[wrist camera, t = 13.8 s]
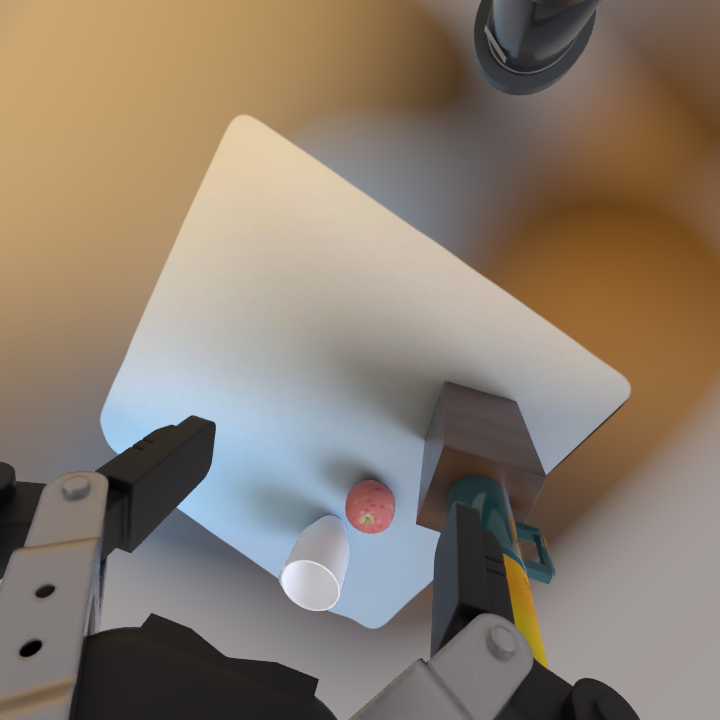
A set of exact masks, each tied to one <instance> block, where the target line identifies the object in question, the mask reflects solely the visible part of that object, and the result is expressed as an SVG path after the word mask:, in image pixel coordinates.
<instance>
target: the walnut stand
mask: <svg viewBox="0 0 720 720" xmlns="http://www.w3.org/2000/svg"><path fill="white" fill-rule="evenodd" d="M469 476H484V477H488V478H491V479H493V480H495V481H496V482H498V483H499V484H501V485H502V486H503V487H504V488H505V490H506V491H507V493H508V495H509V498H510V502H511V506H512V510H513V515H514V519H515V521H517V522H520V523H523V524H525V522H526V520H527V518H528V516H529V514H530V512H531V509H532V507H533V505H534V503H535V501H536V499H537V497H538V495H539V493H540V491H541V489H542V486H543V484H544V482H545V480H546V478H547V477H546V474H545V472H544V469H543V467H542V464H541V462H540V459H539V457H538V454H537V452H536V449H535V447H534V444H533V442H532V439H531V437H530V434H529V432H528V429H527V427H526V424H525V422H524V419H523V417H522V414H521V412H520V409H519V407H518V404H517V402H515V401H512V400H508V399H505V398H501V397H498V396H495V395H491V394H488V393H484V392H481V391H477V390H474V389H471V388H467V387H464V386H460V385H457V384H453V383H450V382H447V381H445V382H444V385H443V388H442V391H441V394H440V397H439V400H438V403H437V406H436V409H435V412H434V415H433V418H432V421H431V424H430V427H429V430H428V433H427V436H426V440H425V445H424V455H423V464H422V473H421V482H420V492H419V501H418V510H417V519H416V524H417V525H420V526H423V527H426V528H429V529H432V530H435V531H438V532H442V530H443V527H444V525H445V522H446V496H447V493H448V491H449V489H450V487H451V486H452V485H453V484H454V483H455V482H457V481H458V480H460V479H462V478H465V477H469Z"/></svg>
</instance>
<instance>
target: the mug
mask: <svg viewBox="0 0 720 720" xmlns="http://www.w3.org/2000/svg"><path fill="white" fill-rule="evenodd" d="M348 560H349V543H348V537H347V531H346V526H345V524H344V522H343V521H342V520H341V519H339V518H338V517H336V516H333V515H326V516H323V517H321V518H320V519H319V520H317V521H316V522H314V523H313V524H311V525H310V526H308V527H307V528H306V529H305V530H304V531H303V532H302V533H301V534H300V536H299V538H298V539H297V541H296V543H295V545H294V547H293V549H292V551H291V554H290V556H289V558H288V560H287V561H286V563H285V564H284V566H283V567H282V569H281V571H280V574H279V582H280V584H281V586H282V587H283V589H284V591H285V593H286V594H287V595H288V597H289V598H290V599H291V600H292V601H293V602H295V603H296V604H298V605H299V606H301V607H303V608H305V609H308V610H313V611H322V610H327V609H330V608H331V607H333V606H334V605H335V604H336V603H337V601H338V599H339V597H340V593H341V589H342V585H343V581H344V577H345V573H346V569H347V565H348Z"/></svg>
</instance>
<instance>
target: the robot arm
mask: <svg viewBox="0 0 720 720" xmlns="http://www.w3.org/2000/svg"><path fill="white" fill-rule="evenodd" d="M600 2H601V0H492V5H491V8H490V12H489V16H488V21H487V26H486V25H485V30H484V31H485V33H486V36H487V43H488V47H489V50H490V53H491V55H492V57H493V59H494V60H495V61H496V63H497V64H498V65H499V66H500V67H501V68H503V69H504V70H506V71H507V72H509V73H512V74H515V75H521V76H528V75H535V74H538V73H541V72H543V71H546V70H547V69H549V68H551V67H552V66H554V65H555V64H556V63H558V62H559V61H560V60H561V59H562V58H563V57H564V56H565V55H566V54H567V52H568V51H569V50H570V48H571V47H572V45H573V44H574V42H575V40H576V39H577V37H578V35H579V33H580V32H581V30H582V29H583V27H584V26H585V24H586V23H587V21H588V20H589V18H590V17H591V15H592V14H593V12H594V11H595V9H596V8H597V6H598V5H599V3H600ZM215 431H216V425H215V423H214V422H212V421H209V420H206V419H203V418H200V417H197V416H194V415H192V416H190V417H188V418H187V419H185V420H184V421H183V422H181V423H180V424H178V425H177V426H175V425H169V426H166V427H163V428H160V429H157V430H155V431H153V432H152V433H150V434H149V435H147V436H146V437H144V438H143V440H140V441H138V442H137V443H135V444H134V445H133V446H132V448H131V447H130V448H128V449H127V450H125V451H124V452H122V453H121V454H119V455H118V456H117V457H115V458H114V459H112V460H111V461H109V462H108V463H106V464H105V465H103V466H102V467H100V468H99V469H98V470H96V471H95V472H93V471H76V472H71V473H67V474H64V475H61V476H59V477H57V478H55V479H53V480H52V481H50V482H49V483H48V484H42V483H29V482H17V481H16V478H15V470H14V468H13V467H12V466H10V465H9V464H6V463H3V462H0V580H1V579H2V578H3V579H2V582H1V585H0V720H337V718H336V717H335V716H334V714H333V713H332V712H331V711H330V710H329V708H328V707H326V705H325V704H324V703H323V702H322V701H320V700H319V699H318V698H316V697H315V696H314V694H315V691H316V687H317V684H318V680H319V679H317V678H314V677H312V676H309V675H307V674H304V673H302V672H299V671H297V670H294V669H292V668H289V667H287V666H284V665H281V664H279V663H277V662H268V661H257V660H247V659H236V658H229V657H226V656H224V655H223V654H222V653H220V652H219V651H218V650H217V649H215V648H214V647H213V646H212V645H211V644H209V643H208V642H207V641H206V640H204V639H203V638H202V637H201V636H200V635H198V634H197V633H196V632H195V631H193V630H192V629H191V628H188V627H186V626H183V625H181V624H178V623H176V622H173V621H171V620H168V619H166V618H163V617H160V616H158V615H155V614H153V613H151V614H150V616H149V617H148V618H147V620H146V621H145V622H144V623H143V625H142V626H141V627H123V628H116V629H110V630H106V631H102V632H100V622H101V613H102V604H103V597H104V588H105V579H106V570H107V559H108V558H107V557H108V555H109V554H110V553H111V552H112V551H113V550H114V549H115V548H119V549H121V550H124V551H126V552H129V553H132V552H133V551H134V550H135V549H136V548H137V547H138V546H139V545H140V544H141V543H142V541H143V540H145V539H146V538H147V537H148V535H149V534H150V533H151V532H152V531H153V530H154V529H155V528H156V527H157V526H158V525H159V524H160V523H161V522H162V521H163V520H164V519H165V518H166V517H167V516H168V515H169V514H170V513H171V512H172V511H173V510H174V509H175V508H176V507H177V506H178V505H179V504H180V503H181V502H182V501H183V500H184V499H185V498H186V497H187V496H188V495H189V494H190V493H191V492H192V491H193V490H194V489H195V488H196V486H197V485H198V484H199V483H200V482H201V481H202V480H203V479H204V478H205V477H206V475H207V473H208V471H209V469H210V466H211V463H212V456H213V448H214V440H215ZM506 575H507V574H506V568H505V565H504V556H503V550H502V546H501V545H500V543H499V541H498V540H497V538H496V536H495V535H494V533H493V532H492V531H489V530H486V529H483V528H481V519H480V511H479V509H476V508H473V507H470V506H467V505H464V504H461V503H458V502H454V503H453V504H452V506H451V509H450V512H449V514H448V517H447V519H446V522H445V525H444V527H443V530H442V532H441V535H440V538H439V540H438V544H437V548H436V552H435V559H434V581H433V606H432V630H431V655H430V660H429V661H427V662H425V661H424V660H423V659H422V658H421V659H418V660H416V661H415V662H413V663H412V664H411V665H410V666H409V667H408V668H407V669H405V670H404V671H403V672H402V673H401V674H400V675H399V676H398V677H396V678H395V679H394V680H393V681H392V682H391V683H390V684H388V685H387V686H386V687H385V688H384V689H383V690H382V691H381V692H379V693H378V694H377V695H376V696H375V697H374V698H373V699H372V700H370V701H369V702H368V703H367V704H366V705H365V706H364V707H362V708H361V709H360V710H359V711H358V712H357V713H356V714H355V715H353V716H352V717H351V718H350V719H349V720H640V719H639V717H638V716H637V714H636V713H635V711H634V710H633V709H632V707H631V706H630V705H629V704H628V703H627V701H626V700H625V699H624V698H623V697H622V696H621V695H619V694H618V693H617V692H616V691H615V690H613V689H612V688H611V687H609V686H608V685H606V684H604V683H602V682H600V681H598V680H595V679H591V678H583V679H580V680H578V681H577V682H576V683H575V685H574V686H572V685H570V684H569V683H567V682H566V681H564V680H563V679H561V678H560V677H559V676H557V675H556V674H554V673H553V672H551V671H550V670H548V669H547V668H545V667H544V666H543V665H541V664H540V663H539V662H538V661H537V660H536V659H535V658H534V657H533V654H532V650H531V647H530V645H529V643H528V641H527V639H526V638H525V636H524V635H523V634H522V632H521V631H520V630H519V629H518V628H517V627H516V626H515V620H514V615H513V609H512V603H511V597H510V591H509V585H508V579H507V578H506Z"/></svg>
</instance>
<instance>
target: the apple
mask: <svg viewBox="0 0 720 720" xmlns="http://www.w3.org/2000/svg"><path fill="white" fill-rule="evenodd" d="M345 510H346V516H347V518H348V520H349V522H350V523H351V524H352V525H353V527H355V528H356V529H357V530H359V531H361V532H364V533H368V534H374V533H379V532H381V531H383V530H385V529H386V528H387V527H388V526H389V525H390V524H391V522H392V520H393V517H394V511H395V499H394V496H393V493H392V491H391V490H390V489H389V488H388V487H387V486H386V485H385V484H383V483H381V482H378V481H374V480H365V481H362V482H360V483H358V484H357V485H356V486H355V487H354V488H353V489H352V490H351V491H350V493H349V494H348V497H347V500H346V507H345Z"/></svg>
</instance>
